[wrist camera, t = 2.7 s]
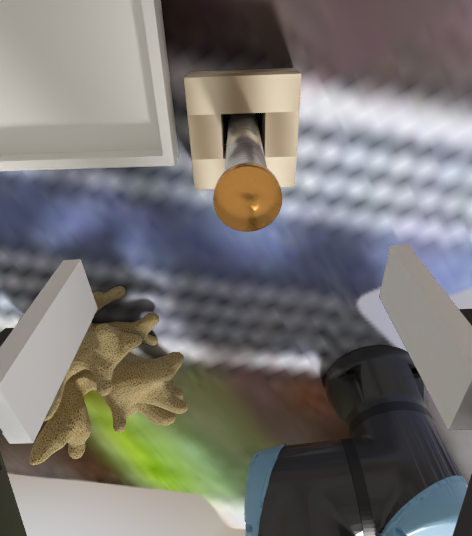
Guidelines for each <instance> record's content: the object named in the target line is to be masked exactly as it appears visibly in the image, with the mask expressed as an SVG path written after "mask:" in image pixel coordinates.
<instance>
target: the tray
mask: <svg viewBox="0 0 472 536" xmlns="http://www.w3.org/2000/svg"><path fill="white" fill-rule="evenodd" d="M178 157H179V151H178V142H177V134H176V125H175V117H174V108H173V100H172V91H171V83H170V74H169V66H168V57H167V49H166V40H165V32H164V23H163V15H162V6H161V0H0V171H24V170H56V169H87V168H119V167H150V166H175V163H176V161H177V159H178Z"/></svg>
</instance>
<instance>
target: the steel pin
mask: <svg viewBox="0 0 472 536" xmlns="http://www.w3.org/2000/svg"><path fill="white" fill-rule="evenodd" d="M281 205H282V193H281V189H280V185H279V182H278V180H277V178H276V177H275V175H274V174H273V173H272V172H271V171H270V170H268V169H267V165H266V160H265V156H264V151H263V146H262V142H261V137H260V132H259V128H258V123H257V119H256V117H255V115H254V114H253V113H240V114H232V115H231V116H230V118H229V122H228V134H227V146H226V159H225V171H224V173H223V174H222V175H221V176H220V178H219V179H218V181H217V183H216V186H215V191H214V207H215V211H216V213H217V215H218V216H219V218H220V219H221V220H222V221H223V222H224V223H225V224H226V225H227V226H229V227H231V228H233V229H235V230H239V231H246V232H249V231H256V230H259V229H262V228H264V227H266V226H267V225H269V224H270V223H271V222H272V221H273V220H274V219H275V218H276V217H277V215H278V213H279V211H280V209H281Z"/></svg>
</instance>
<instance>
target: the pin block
mask: <svg viewBox="0 0 472 536" xmlns="http://www.w3.org/2000/svg"><path fill="white" fill-rule="evenodd" d="M184 86H185V96H186V106H187V116H188V126H189V136H190V146H191V157H192V167H193V177H194V187H195V190H198V189H215V186H216V183H217V181H218V179H219V178H220V176H221V175H222V174H223V173H224V171H225V159H226V146H227V145H225V144H224V123H223V114H240V113H262V146H263V151H264V156H265V160H266V165H267V169H268V170H270V171H271V172H272V173H273V174H274V175H275V177H276V178H277V180H278V182H279V185H280V187H295V175H296V158H297V141H298V124H299V107H300V89H301V73H300V72H299V71H297V70H296V69H294V68H279V69H251V70H224V71H196V72H189V73H188V74H187V75H186V76H185V77H184Z"/></svg>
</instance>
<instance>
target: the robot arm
mask: <svg viewBox="0 0 472 536" xmlns="http://www.w3.org/2000/svg"><path fill="white" fill-rule="evenodd" d="M379 297H380V300H381V301H382V303H383V305H384V307H385V309H386V311H387V313H388V315H389V316H390V319H391V321H392V323H393V324H394V326H395V328H396V330H397V332H398V334H399V336H400V338H401V340H402V342H403V344H404V346H405V347H406V349H407V351H408V352H407V351H405V350H403V349H400V348H396V347H391V346H371V347H366V348H362V349H358V350H355V351H353V352H351V353H349V354H347V355H345V356H343V357H342V358H340V359H339V360H338V361H336V362H335V363H334V364H333V365H332V366H331V368H330V369H329V370H328V372H327V374H326V377H325V389H326V393H327V397H328V400H329V402H330V404H331V406H332V407H333V409H334V410H335V412H336V413H337V415H338V416H339V418H340V419H341V421H342V422H343V424H344V425H345V427H346V428H347V430H348V432H349V436H350V438H349V439H339V440H331V441H323V442H315V443H305V444H296V445H281V446H280V447H275V448H270V449H264V450H260V451H258V452H257V453H256V454H255V455H254V456H253V458H252V460H251V462H250V465H249V469H248V473H247V480H246V489H245V522H246V536H472V475H471V478H470V481H469V484H468V488H467V482H466V480H465V479H464V477H462V475H461V473H460V471H459V469H458V467H457V465H456V463H455V461H454V459H453V457H452V455H451V453H450V451H449V449H448V447H447V446H446V444H445V442H444V440H443V438H442V436H441V434H440V432H439V430H438V428H437V426H436V424H435V422H434V420H433V418H432V416H431V414H430V412H429V409H428V401H427V392H426V388H427V390H428V392H429V394H430V396H431V397H432V399H433V401H434V403H435V405H436V407H437V409H438V411H439V413H440V415H441V417H442V419H443V420H444V422H445V424H446V426H447V428H448V430H471V429H472V309H458V308H457V306H456V305H455V304H454V302H453V301H452V300H451V299H450V297H449V296H448V295H447V293H446V292H445V291H444V290H443V288H442V287H441V286H440V284H439V283H438V282H437V281H436V279H435V278H434V277H433V275H432V274H431V273H430V272H429V270H428V269H427V268H426V266H425V265H424V264H423V262H422V261H421V260H420V259H419V257H418V256H417V255H416V253H415V252H414V251H413V250H412V248H411V247H410V246H409V244H408V245H390V248H389V253H388V257H387V262H386V267H385V272H384V277H383V281H382V286H381V291H380V296H379ZM97 309H98V308H97V305H96V302H95V299H94V296H93V293H92V290H91V287H90V285H89V282H88V279H87V276H86V273H85V270H84V267H83V264H82V261H81V259H76V260H63V261H62V263H61V264H60V265H59V267H58V268H57V269H56V271H55V272H54V274H53V275H52V276H51V278H50V279H49V281H48V282H47V283H46V285H45V286H44V287H43V289H42V290H41V292H40V293H39V294H38V296H37V297H36V299H35V300H34V301H33V303H32V304H31V305H30V307H29V308H28V310H27V311H26V312H25V314H24V315H23V317H22V318H21V319H20V321H19V322H18V323H17V325H16V326H15V328H5V329H4V330H3V331H2V332H0V436H1V434H2V433H3V435H4V436H5V438H6V439H7V441H8V442H9V443H10V444H15V443H33V442H34V440H35V438H36V436H37V434H38V432H39V430H40V428H41V426H42V423H43V421H44V419H45V417H46V415H47V413H48V411H49V409H50V407H51V405H52V403H53V401H54V398H55V396H56V394H57V392H58V390H59V388H60V386H61V384H62V382H63V380H64V378H65V376H66V374H67V371H68V369H69V367H70V365H71V363H72V361H73V359H74V357H75V355H76V353H77V351H78V349H79V346H80V344H81V342H82V340H83V338H84V336H85V334H86V332H87V330H88V328H89V326H90V324H91V322H92V319H93V317H94V315H95V313H96V311H97ZM0 536H27V535H26V532H25V528H24V525H23V522H22V519H21V516H20V513H19V509H18V507H17V503H16V500H15V497H14V493H13V490H12V487H11V484H10V481H9V477H8V474H7V471H6V468H5V465H4V462H3V458H2V455H1V452H0Z"/></svg>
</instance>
